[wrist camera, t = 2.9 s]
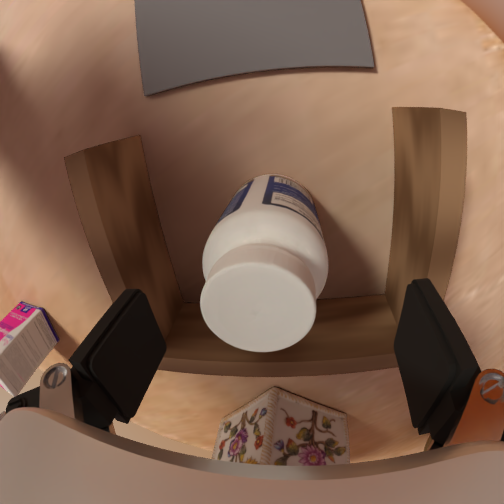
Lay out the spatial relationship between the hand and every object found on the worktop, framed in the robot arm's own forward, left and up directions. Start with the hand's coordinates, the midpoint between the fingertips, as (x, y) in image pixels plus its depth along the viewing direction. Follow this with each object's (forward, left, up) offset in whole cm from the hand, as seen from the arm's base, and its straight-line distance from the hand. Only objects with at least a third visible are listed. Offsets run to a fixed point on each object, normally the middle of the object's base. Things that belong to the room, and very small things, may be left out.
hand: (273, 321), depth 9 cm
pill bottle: (0, -1, -10) cm, 10 cm away
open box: (+1, -1, -10) cm, 10 cm away
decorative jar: (+26, -2, -10) cm, 28 cm away
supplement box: (+11, -33, -10) cm, 36 cm away
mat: (-14, -1, -10) cm, 17 cm away
